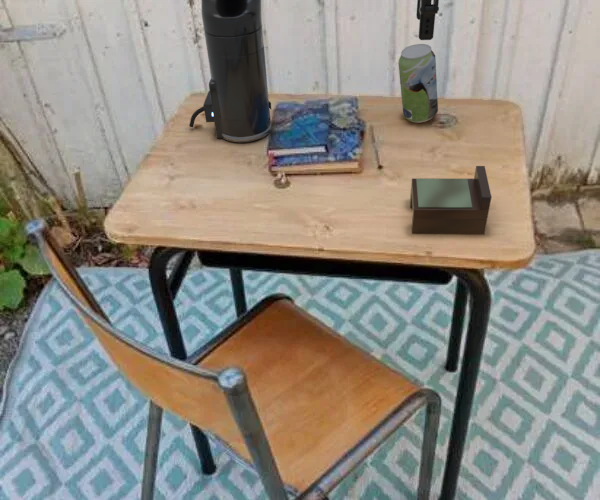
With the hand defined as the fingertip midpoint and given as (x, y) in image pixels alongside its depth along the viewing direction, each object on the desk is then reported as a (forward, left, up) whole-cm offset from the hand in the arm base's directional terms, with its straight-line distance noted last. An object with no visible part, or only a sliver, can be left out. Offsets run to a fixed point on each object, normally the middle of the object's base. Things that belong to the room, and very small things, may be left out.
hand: (424, 28), depth 103 cm
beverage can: (0, 0, -15) cm, 15 cm away
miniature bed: (+3, -30, -15) cm, 34 cm away
